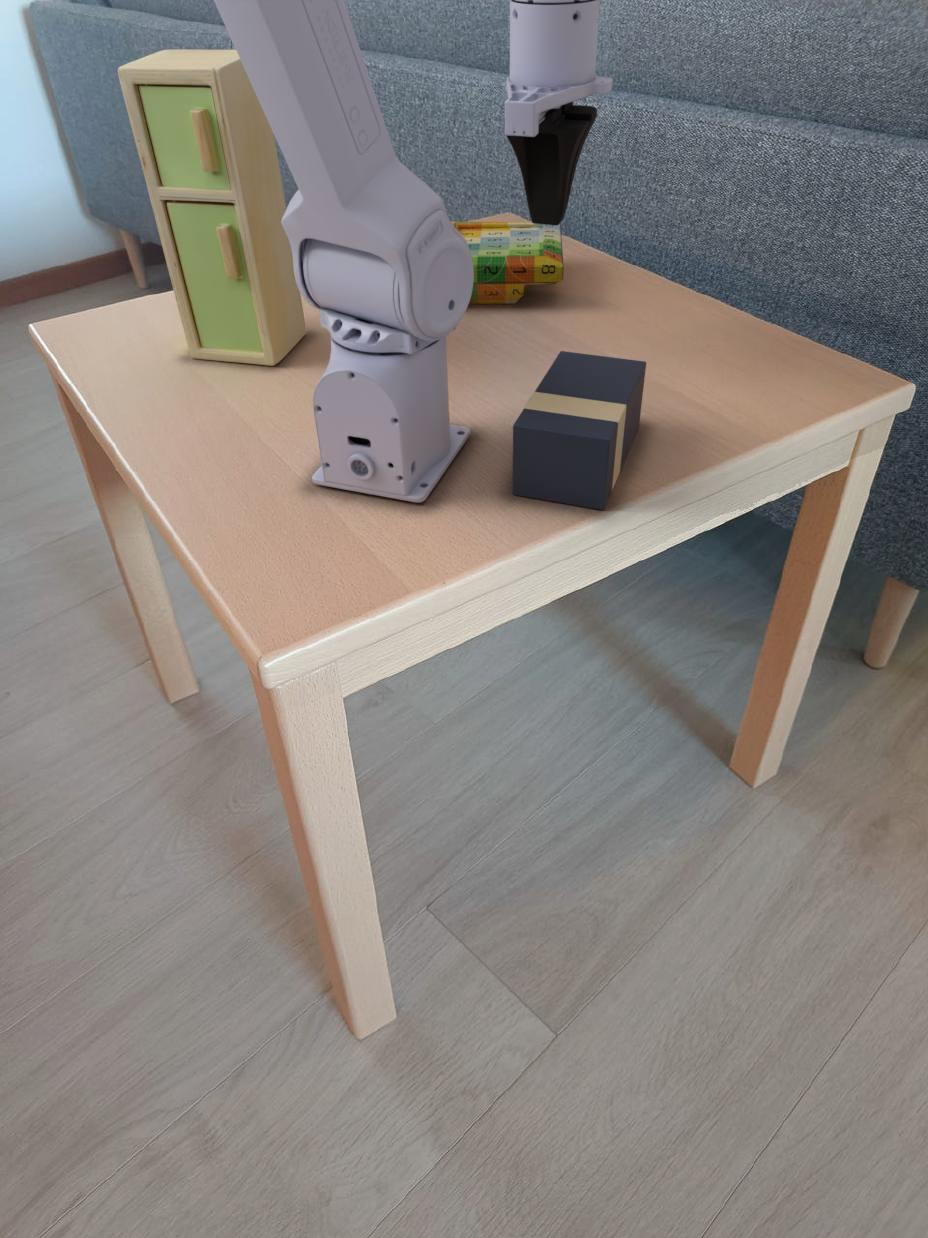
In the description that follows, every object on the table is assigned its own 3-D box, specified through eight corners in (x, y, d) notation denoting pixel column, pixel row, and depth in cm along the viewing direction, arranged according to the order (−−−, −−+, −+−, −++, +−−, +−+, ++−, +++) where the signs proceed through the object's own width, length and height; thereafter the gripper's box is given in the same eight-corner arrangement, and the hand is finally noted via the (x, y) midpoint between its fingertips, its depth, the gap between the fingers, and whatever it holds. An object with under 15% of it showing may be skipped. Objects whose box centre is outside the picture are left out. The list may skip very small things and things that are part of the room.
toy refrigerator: (182, 362, 73) (109, 66, 59) (224, 326, 79) (165, 47, 65) (271, 372, 72) (216, 69, 58) (307, 334, 77) (265, 49, 63)
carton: (639, 427, 63) (603, 511, 56) (557, 415, 65) (511, 495, 57) (647, 360, 60) (610, 439, 52) (560, 349, 62) (512, 424, 54)
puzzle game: (353, 214, 86) (561, 212, 85) (358, 263, 89) (558, 262, 88) (333, 256, 78) (564, 255, 76) (339, 309, 81) (561, 309, 79)
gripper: (588, 17, 50) (575, 260, 59) (640, -17, 61) (622, 196, 70) (471, 14, 52) (475, 250, 61) (540, -18, 63) (535, 189, 72)
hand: (547, 221), depth 66 cm, fingers closed
